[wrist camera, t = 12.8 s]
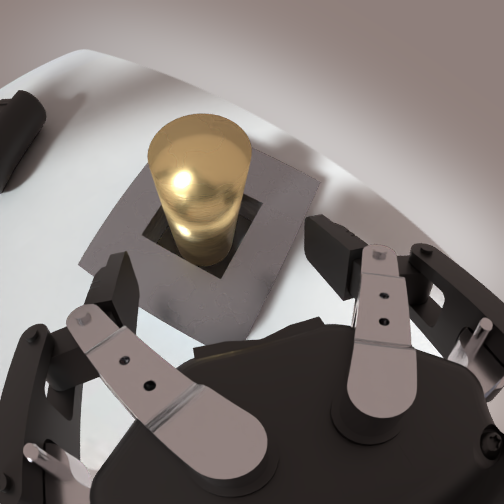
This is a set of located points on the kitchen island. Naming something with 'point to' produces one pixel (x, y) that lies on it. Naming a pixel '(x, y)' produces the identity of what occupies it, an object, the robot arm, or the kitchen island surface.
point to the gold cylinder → (201, 182)
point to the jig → (194, 278)
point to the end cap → (17, 130)
